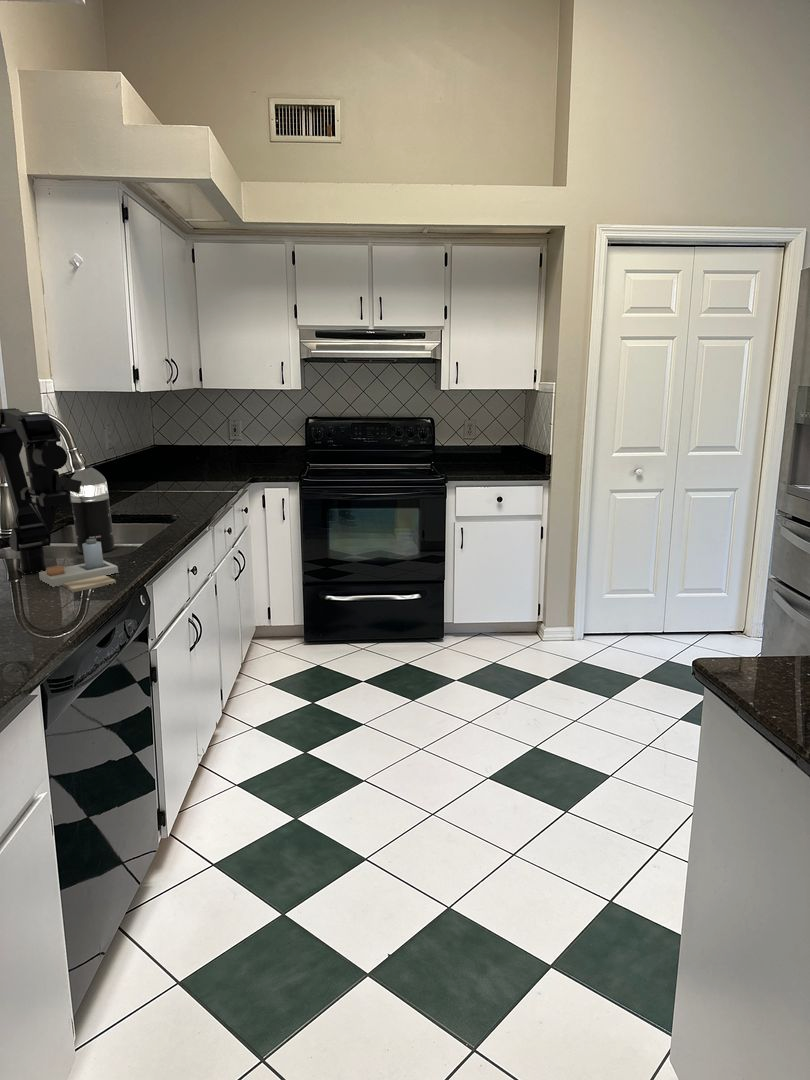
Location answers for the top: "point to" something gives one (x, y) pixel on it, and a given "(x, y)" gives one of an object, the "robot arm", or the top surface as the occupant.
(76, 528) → the black cylindrical canister
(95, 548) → the cylinder
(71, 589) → the pad
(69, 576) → the white tray
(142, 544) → the top surface
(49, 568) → the plunger
